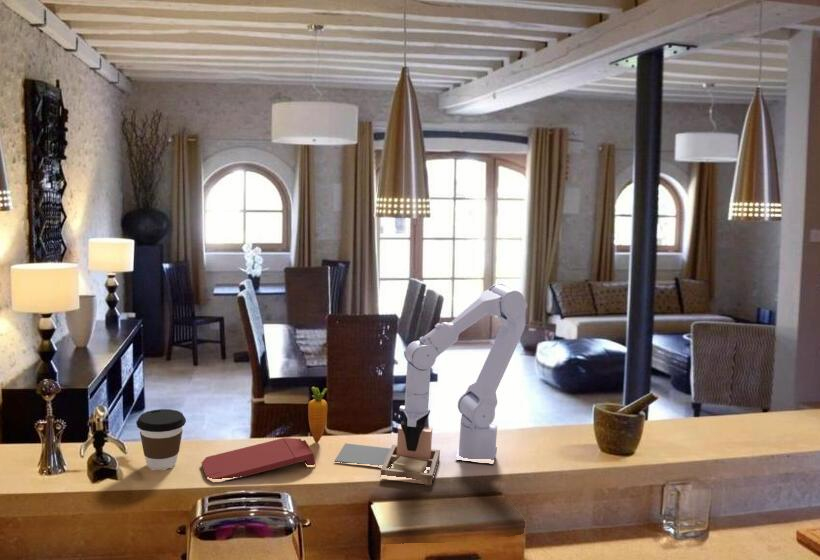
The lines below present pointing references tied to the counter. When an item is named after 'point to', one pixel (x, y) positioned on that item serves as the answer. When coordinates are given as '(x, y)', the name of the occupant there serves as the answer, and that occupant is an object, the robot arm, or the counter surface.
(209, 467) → the reddish-brown flat block
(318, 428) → the carrot
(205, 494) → the counter surface
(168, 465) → the coffee cup
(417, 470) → the offcut stack
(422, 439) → the pink rectangular block
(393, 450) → the tray
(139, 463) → the counter surface
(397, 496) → the counter surface
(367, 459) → the mat
